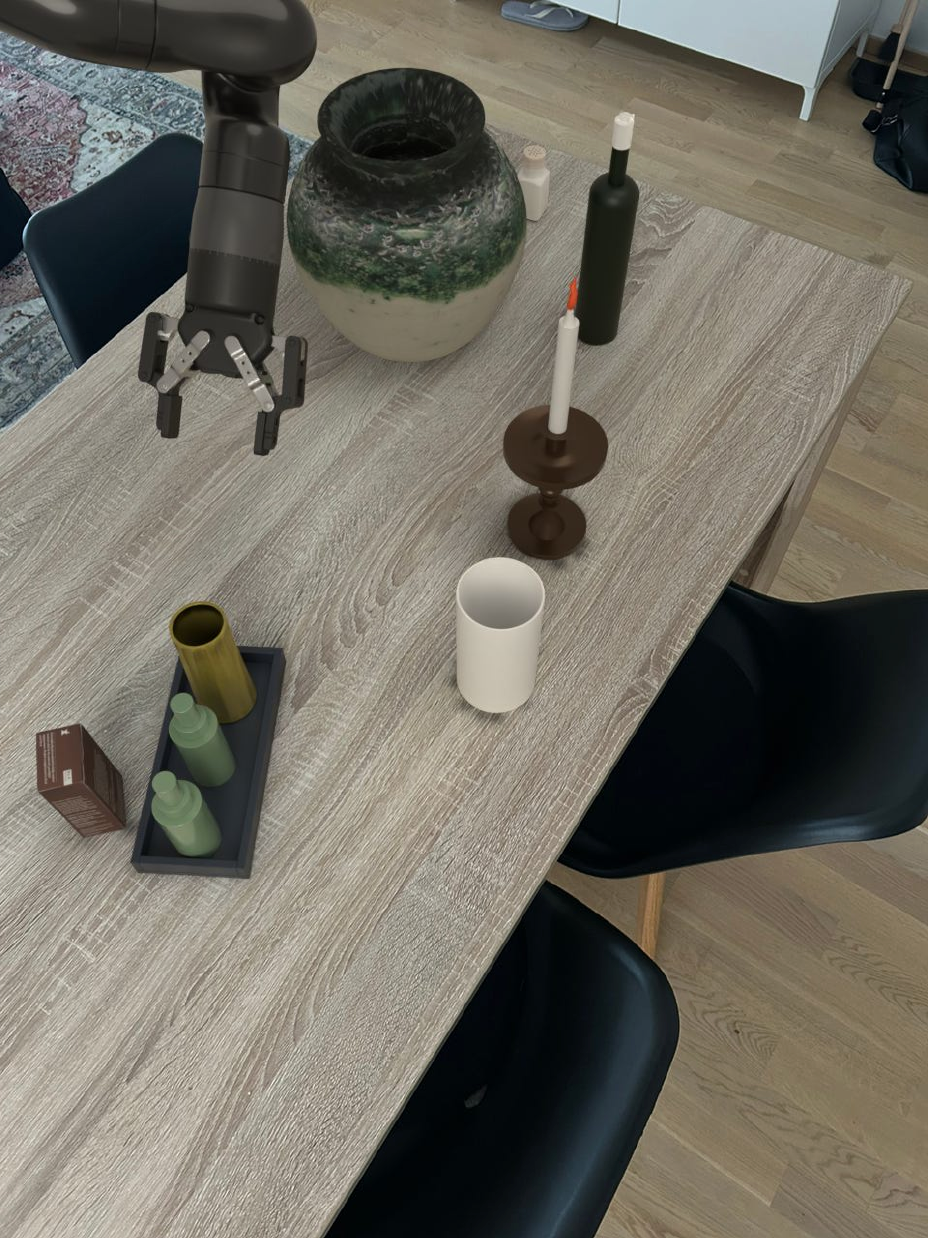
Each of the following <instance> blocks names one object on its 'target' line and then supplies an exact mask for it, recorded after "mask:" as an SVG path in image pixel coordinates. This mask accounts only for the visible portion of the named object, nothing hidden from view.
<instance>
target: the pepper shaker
mask: <svg viewBox="0 0 928 1238" xmlns="http://www.w3.org/2000/svg"><path fill="white" fill-rule="evenodd" d="M546 162H547V150H546V149H545V148H544V147H543V146H541V145H535V144H532V145H528V146H526V147H525V148H524V149H523V152H522V163H521V166H522V167H521V168H520V169H519V171H518V172H517V177H518V179H519V182H520V185H521V188H522V192H523V196H524V201H525V205H526V216H527V220H530V221H533V222H538V221H540V219H541V218H542V217H543V215H544V213H545V212H546V210H547V208H548V207H549V194H550V183H551V182H550V181H551V171H550V170H549V169H547V168H546V166H547V165H546V164H547V163H546Z"/></svg>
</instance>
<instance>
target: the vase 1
mask: <svg viewBox="0 0 928 1238" xmlns="http://www.w3.org/2000/svg"><path fill="white" fill-rule="evenodd" d="M168 626H169V627H168V630H169V636H170V637H171V641H172V643H173V645H174V648H175V649H176V652H177V654H178V656H179V657H180V660H181V662H182V665H183V667H184V670H185V673H186V675H187V677H188V680H189V682H190V685H191V688H192V691H193V693H194V695H195V697H196V701H197V705H202V706H205V707H208V708H209V709H211V710H212V711H213V712H214V714H215V715H216V717H217V719H218V722H219V723H232V722H235V721H237V720H239V719H241V718H243V717H245V716H246V715H247V714H248V713H249V712H250V711H251V710H252V708H253V707H254V705H255V702H256V698H257V690H256V687H255V684H254V682H253V680H252V679H251V677H250V675H249V673H248V671H247V668H246V666H245V664H244V662H243V660H242V657H241V655H240V652H239V650H238V647H237V646H238V645H237V644H236V640H235V638H234V636H233V633H232V629H231V627H230V626H231V625H230V624H229V622H228V618H227V615H226V613H225V611H224V609H223V608H222V607H220V606H219V605H217V604H216V603H214V602H211V601H205V600H198V601H197V600H196V601H192V602H189V603H186V604H184V605H182V606H181V607H180V608H178V609H177V610H176V611H175V612H174V613H173V615H172V617H170V621H169V625H168Z"/></svg>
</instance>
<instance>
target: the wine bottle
mask: <svg viewBox="0 0 928 1238" xmlns="http://www.w3.org/2000/svg"><path fill="white" fill-rule="evenodd" d="M635 115H636V114H635V113H633V114H631V113H630V112H627V111H623V110H621V112H620V113H619V114H617V115H615V117H614V121H613V128H612V136H611V151H610V158H609V166H608V172H605V173H602V174H601V175H599V176H597V178H595V179H594V180H593V182H592V183H591V185H590V187H589V191H588V199H587V206H586V207H587V208H586V217H585V225H584V234H583V240H582V241H583V243H582V249H581V250H582V251H581V259H580V269H579V276H578V277H579V278H578V287H577V291H578V295H577V302H576V304H575V310H574V311H575V312H574V317H576V318H577V319H578V320H579V330H578V339H577V340H579V341H580V342H582V343H584V344H587V345H591V346H603V345H607V344H609V343H611V342H612V341H614V340H615V338H616V337H617V335H618V330H619V323H620V318H621V311H622V305H623V300H624V293H625V287H626V281H627V276H628V268H629V263H630V257H631V250H632V245H633V244H632V243H633V238H634V231H635V226H636V219H637V214H638V213H637V212H638V206H639V201H640V189H639V186H638V184H637V182H636V180H635V179H633V177H632V176H630V175H628V174H627V170H628V161H629V157H630V156H629V155H630V150H631V149H630V148H631V146H632V141H633V134H634V127H635Z"/></svg>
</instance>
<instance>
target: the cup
mask: <svg viewBox="0 0 928 1238" xmlns="http://www.w3.org/2000/svg"><path fill="white" fill-rule="evenodd" d="M545 604H546V591H545V586H544V583H543V581H542V578H541V576H539V574H538V573H537V572H536V571H535V570H534V569H533V568H532V567H531V566H529V565H528V564H526V563H524V562H523V561H520V560H518V559H515V558H510V557H505V556H504V557H503V556H500V557H499V556H498V557H497V556H496V557H489V558H485V559H482V560H480V561H477V562H475V563H474V564H472V565H471V566H469V567H468V568H467V569H466V570H465V571H464V572H463V574H462V575H461V576H460V578H459V580H458V582H457V586H456V591H455V627H456V628H455V629H456V630H455V632H456V633H455V636H456V640H455V641H456V683H457V687H458V690H459V693H460V694H461V696H462V697H463V698H464V700H466V702H467V703H468V704H470V705H471V706H472V707H474V708H475V709H478V710H480V711H483V712H486V713H492V714H502V713H507V712H511V711H513V710H516V709H518V708H520V707H521V706H522V705H524V704H525V703H526V702H527V701H528V700H529V699H530V697H531V695H532V694H533V691H534V689H535V685H536V678H537V670H538V662H539V655H540V654H539V653H540V645H541V638H542V637H541V636H542V629H543V620H544V612H545Z"/></svg>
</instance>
